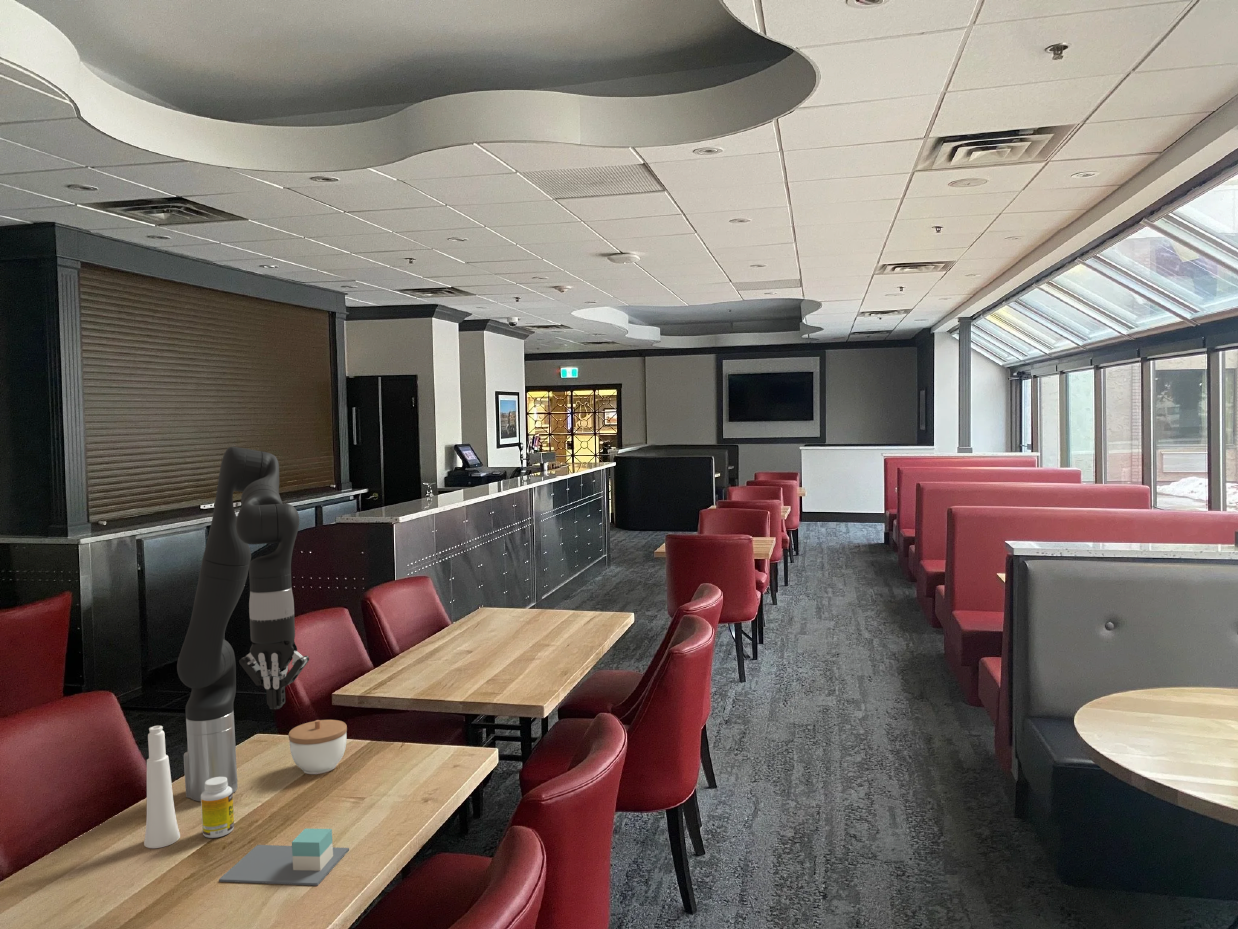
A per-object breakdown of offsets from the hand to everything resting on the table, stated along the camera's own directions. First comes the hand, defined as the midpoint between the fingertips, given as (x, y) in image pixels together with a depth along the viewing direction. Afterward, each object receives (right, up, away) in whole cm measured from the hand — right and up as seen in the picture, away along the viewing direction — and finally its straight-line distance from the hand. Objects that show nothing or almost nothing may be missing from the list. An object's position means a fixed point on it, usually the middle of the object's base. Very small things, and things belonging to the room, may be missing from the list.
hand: (276, 707), depth 154 cm
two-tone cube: (+8, -21, -4) cm, 23 cm away
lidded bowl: (-6, -26, +40) cm, 48 cm away
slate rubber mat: (+3, -27, -4) cm, 27 cm away
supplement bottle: (-15, -27, +10) cm, 32 cm away
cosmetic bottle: (-24, -28, +7) cm, 37 cm away
